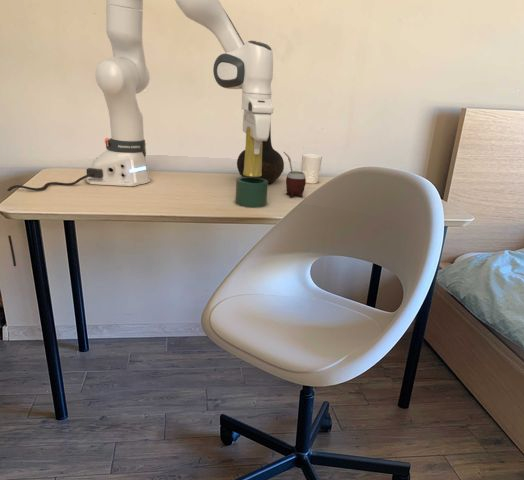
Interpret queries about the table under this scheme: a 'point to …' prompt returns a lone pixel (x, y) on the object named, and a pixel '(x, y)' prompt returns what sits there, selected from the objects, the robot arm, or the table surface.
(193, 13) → the robot arm
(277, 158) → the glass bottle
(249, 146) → the vase
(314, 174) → the white cup
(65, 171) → the table surface
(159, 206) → the table surface
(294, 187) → the mate gourd
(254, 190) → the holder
